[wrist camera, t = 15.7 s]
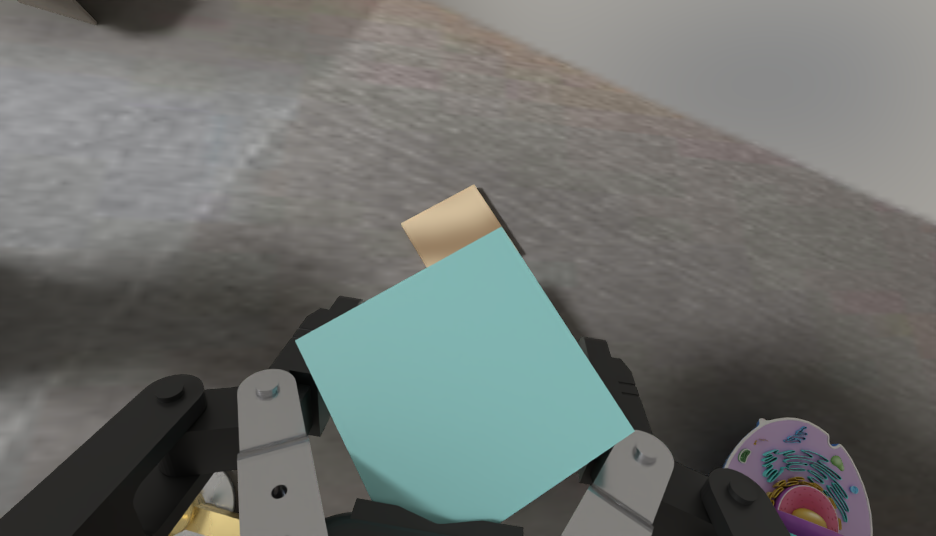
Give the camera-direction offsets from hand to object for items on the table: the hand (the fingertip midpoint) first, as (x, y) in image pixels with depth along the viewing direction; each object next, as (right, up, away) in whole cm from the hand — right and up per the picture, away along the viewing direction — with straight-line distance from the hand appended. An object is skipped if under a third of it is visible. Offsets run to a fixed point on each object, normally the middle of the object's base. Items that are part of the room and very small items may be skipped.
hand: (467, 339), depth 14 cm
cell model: (+20, -14, +17) cm, 30 cm away
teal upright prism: (0, -3, +3) cm, 4 cm away
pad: (-1, +5, +22) cm, 22 cm away
